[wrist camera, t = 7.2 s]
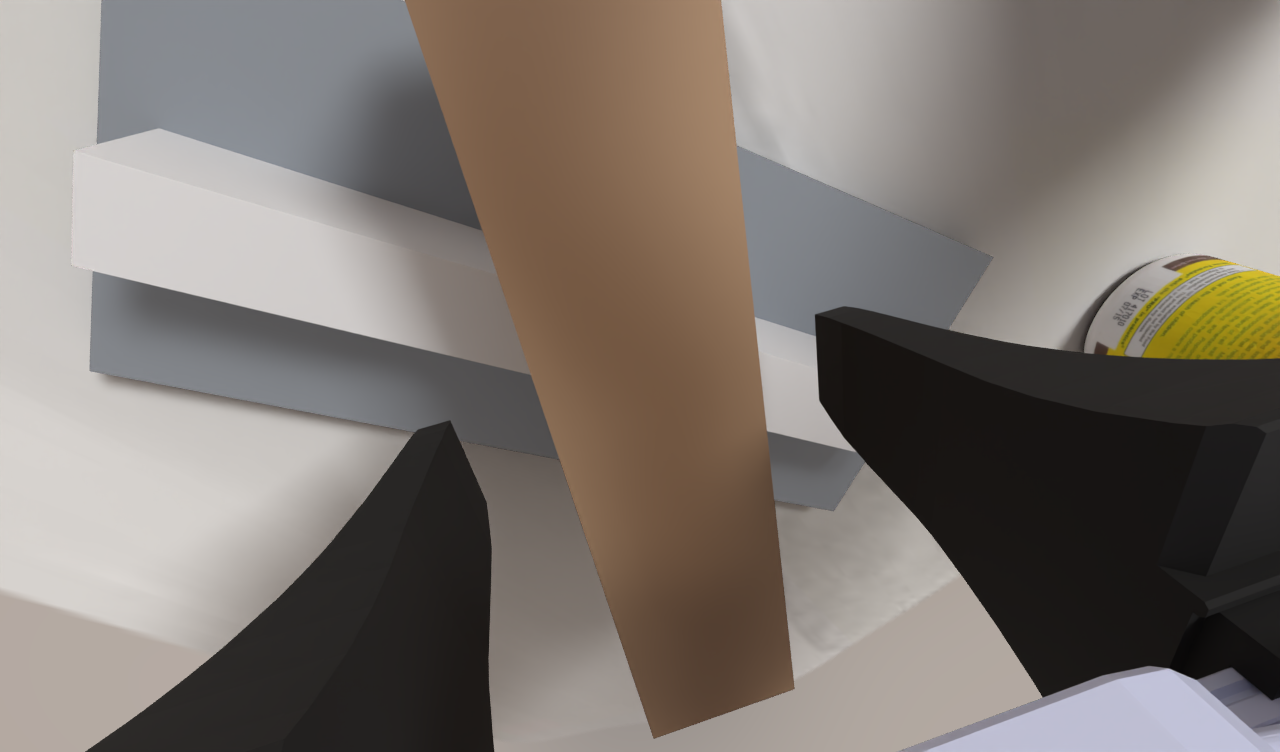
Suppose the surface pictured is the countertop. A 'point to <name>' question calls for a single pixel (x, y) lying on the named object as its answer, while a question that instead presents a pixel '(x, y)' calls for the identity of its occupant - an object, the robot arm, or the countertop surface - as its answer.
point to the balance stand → (399, 238)
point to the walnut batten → (632, 315)
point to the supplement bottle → (1190, 312)
